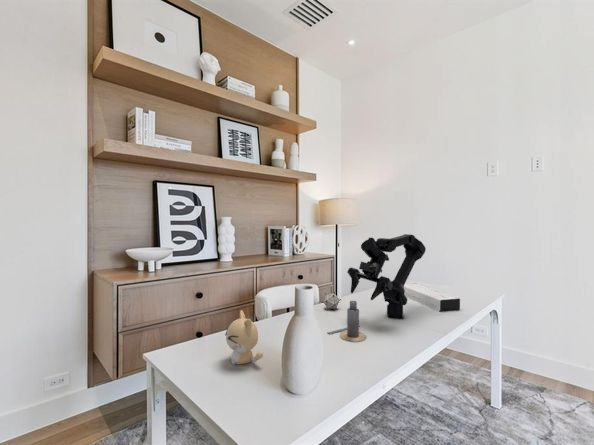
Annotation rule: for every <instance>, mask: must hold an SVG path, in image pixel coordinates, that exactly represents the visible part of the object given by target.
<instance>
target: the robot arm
mask: <svg viewBox="0 0 594 445" xmlns="http://www.w3.org/2000/svg"><path fill="white" fill-rule="evenodd" d="M401 246H403V248H404V253H405V258H403V261H402V263H401V264H400V267H399V269H398V271H397V273H396V275H395V277H394V279H393V280H391V279H390V278H389V277H385V276H383V275H380V274H381V273H382V272H383V267H384V265H385V263H386V261H387V262H388V261H390V258H389V255H388V254H387V253H392V252H394V251H396V248H398V247H401ZM360 249H361V250H362V251H363V253H364V254H365V255H366V256H367V257H368V258H370V260H369V261H366V262H365V261H360V265H359V268H358V269H357V268H354V267H349V268H348V269H347V272H346V273H347V274H348V275H349V277H350V278H351V282H350V283H351V286H350V293H351V294H353V293H354V292H355V290H356V288H357V287H358V285H359V283H360V279H364V280H367V281H370V282H373V283H376V287H375V288H374V290H373V292H372V293H371V297H370V301H374V300H375V299H376V298H377V297H378V296H380V295H381V294H383V295H382V296H383V299H384V302H387V303H388V304H387V305H386V315H387V317H388V318H391V319H399V320H400V319H401V320H403V319H404V306H406V305H407V304H408V298H406V296H405V295H404V293H405V290H404V284H406V282H407V281H408V279H409V276H410V275H411V272H412V270H413V268H414V265H415V263H416V262H417V261H419V260H420V259H422V258H423V256H424V255H425V252H426V251H427V249H426V246H425V245H424V243H423V242H422V241H421V240H419V239H418V238H417V237H416V236H415V235H413V234H406V233H405V234H402V235H400V236H399V235H398V236H395V237H391V238H385V237H384V238H382V237H379V238H377V239H376V240H375V238H374V237H368V239H365V240H364V241H363V242H362V243H361V245H360ZM360 270H361V272H360Z"/></svg>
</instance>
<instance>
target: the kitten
mask: <svg viewBox="0 0 594 445" xmlns="http://www.w3.org/2000/svg"><path fill="white" fill-rule="evenodd" d="M225 341H226V344H227V346H229V348H230V349H231V350H232V351H233V352H232V354H231V356H230V361H231V363H232V365H233V366H235V365H236V364H238V365H243V364H244V365H245V364H248V363H250V362H257V361H260V360H261V359H262V358H263V357H264V353H263V351H262V350H259V351H257V353H256V355H253V351H252V349H254V348H255V347H256V345H257V344H258V341H259V332H258V328H257V326H256V324H255V323H254V322H253V321H252V320H251V319H250V318H246V315H245V313H244V311H243V309H241V310H240V311H239V318H238V319H235V320H233V321H232V322H231V323H230V324H229V326H228V328H227V329H226V332H225Z"/></svg>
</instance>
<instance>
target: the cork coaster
mask: <svg viewBox="0 0 594 445" xmlns="http://www.w3.org/2000/svg"><path fill="white" fill-rule="evenodd" d="M339 338H340V339H341V340H343V341H347V342H352V343H359V342H363V341H364V342H365V340H366V339H367V335H366V333H363V332H361V331H359V337H357V338H351V337H348V336H347V330H345V331H341V332H339Z"/></svg>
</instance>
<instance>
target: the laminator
mask: <svg viewBox="0 0 594 445" xmlns="http://www.w3.org/2000/svg"><path fill="white" fill-rule="evenodd" d="M404 290H405V293H404V295H405V296H406V298H407V299H409V300H411V301H413V302H416V303H418V304H420V305H422V306H425V307H428V308H429V309H432V310H435V311H436V312H438V311H439V313H442V312H448V311H449V312H451V311H460V309H461V299H460V297H459V298H458V297H457V296H454V295H450V294H447V293H444V292H441V291H439V290H436V289H433V288H430V287H427V286H424V285H421V284H418V283H405V284H404Z"/></svg>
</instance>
